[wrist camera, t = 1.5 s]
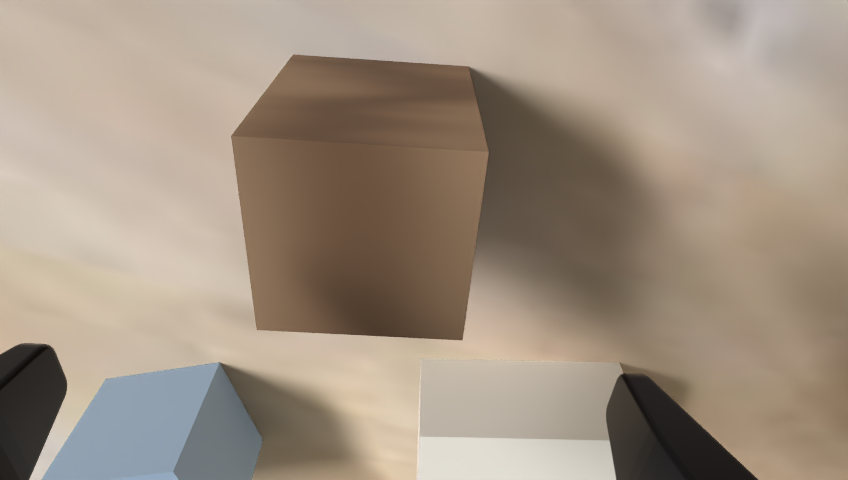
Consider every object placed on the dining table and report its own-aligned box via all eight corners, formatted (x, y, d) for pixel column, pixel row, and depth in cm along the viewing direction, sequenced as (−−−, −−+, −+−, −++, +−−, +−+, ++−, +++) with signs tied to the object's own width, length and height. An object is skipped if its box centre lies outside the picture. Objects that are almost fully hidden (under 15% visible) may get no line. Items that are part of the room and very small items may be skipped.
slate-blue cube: (220, 360, 22) (172, 471, 18) (263, 438, 25) (230, 550, 21) (107, 377, 23) (35, 488, 19) (160, 451, 26) (109, 563, 21)
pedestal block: (617, 357, 22) (650, 441, 19) (581, 476, 27) (603, 561, 23) (420, 353, 22) (419, 436, 19) (416, 472, 27) (415, 557, 23)
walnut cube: (468, 66, 16) (488, 151, 11) (452, 215, 19) (462, 340, 14) (293, 54, 16) (231, 136, 11) (302, 207, 18) (256, 330, 13)
